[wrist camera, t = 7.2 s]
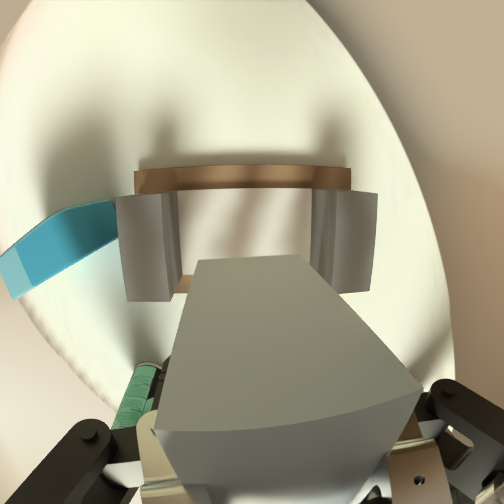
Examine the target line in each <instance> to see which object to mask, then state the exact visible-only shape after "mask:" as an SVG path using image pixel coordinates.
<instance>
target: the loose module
mask: <svg viewBox="0 0 504 504" xmlns="http://www.w3.org/2000/svg"><path fill="white" fill-rule="evenodd" d="M422 390H423V387H422V385H421V384H420V383H419V382H418V381H417V380H416V379H415V377H414V376H413V375H412V374H411V373H410V372H409V371H408V369H407V368H406V367H405V366H404V365H403V364H402V363H401V362H400V360H399V359H398V358H397V357H396V356H395V355H394V354H393V353H392V352H391V350H390V349H389V348H388V347H387V346H386V345H385V344H384V343H383V342H382V341H381V339H380V338H379V337H378V336H377V335H376V334H375V333H374V332H373V331H372V330H371V329H370V327H369V326H368V325H367V324H366V323H365V322H364V321H363V320H362V319H361V318H360V317H359V316H358V315H357V314H356V312H355V311H354V310H353V309H352V308H351V307H350V306H349V305H348V304H347V303H346V302H345V301H344V300H343V299H342V298H341V297H340V296H339V295H338V293H337V292H336V291H335V290H334V289H333V288H332V287H331V286H330V285H329V284H328V283H327V282H326V281H325V280H324V279H323V278H322V277H321V276H320V275H319V274H318V273H317V272H316V271H315V270H314V269H313V268H312V267H311V266H310V265H309V264H308V263H307V262H306V261H305V260H304V258H303V257H302V256H301V255H300V254H289V255H272V256H255V257H238V258H221V259H203V260H198V262H197V265H196V268H195V271H194V275H193V278H192V281H191V285H190V288H189V291H188V295H187V298H186V302H185V305H184V309H183V312H182V316H181V319H180V323H179V327H178V330H177V334H176V338H175V341H174V345H173V349H172V353H171V357H170V361H169V365H168V369H167V373H166V377H165V381H164V385H163V389H162V393H161V398H160V402H159V406H158V411H157V416H156V420H155V425H154V432H155V434H156V436H157V438H158V440H159V442H160V444H161V446H162V448H163V450H164V452H165V454H166V456H167V458H168V460H169V462H170V464H171V466H172V468H173V469H174V471H175V473H176V475H177V477H178V478H179V480H180V482H181V483H182V484H204V485H205V487H206V489H207V492H208V494H209V496H210V498H211V500H212V502H213V504H350V503H351V502H352V500H353V499H354V498H355V497H356V495H357V494H358V493H359V491H360V490H361V488H362V487H363V486H364V484H365V483H366V481H367V480H368V479H369V477H370V476H371V474H372V473H373V471H374V470H375V468H376V466H377V465H378V463H379V462H380V460H381V458H382V457H383V455H384V454H385V452H387V451H390V450H392V449H393V447H394V445H395V444H396V442H397V440H398V438H399V437H400V435H401V433H402V431H403V429H404V428H405V426H406V424H407V422H408V420H409V418H410V416H411V414H412V412H413V410H414V408H415V406H416V404H417V402H418V399H419V397H420V395H421V393H422Z"/></svg>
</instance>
